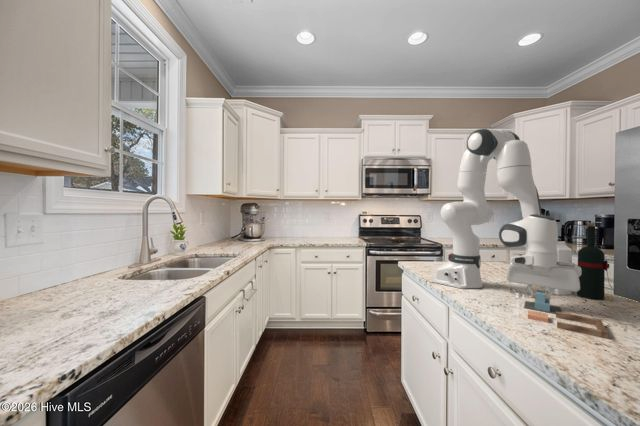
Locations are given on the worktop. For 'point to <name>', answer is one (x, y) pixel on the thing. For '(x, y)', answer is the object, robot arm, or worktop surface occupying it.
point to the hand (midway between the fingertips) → (540, 298)
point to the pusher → (541, 301)
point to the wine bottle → (592, 268)
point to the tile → (537, 316)
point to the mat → (532, 307)
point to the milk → (563, 256)
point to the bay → (580, 329)
